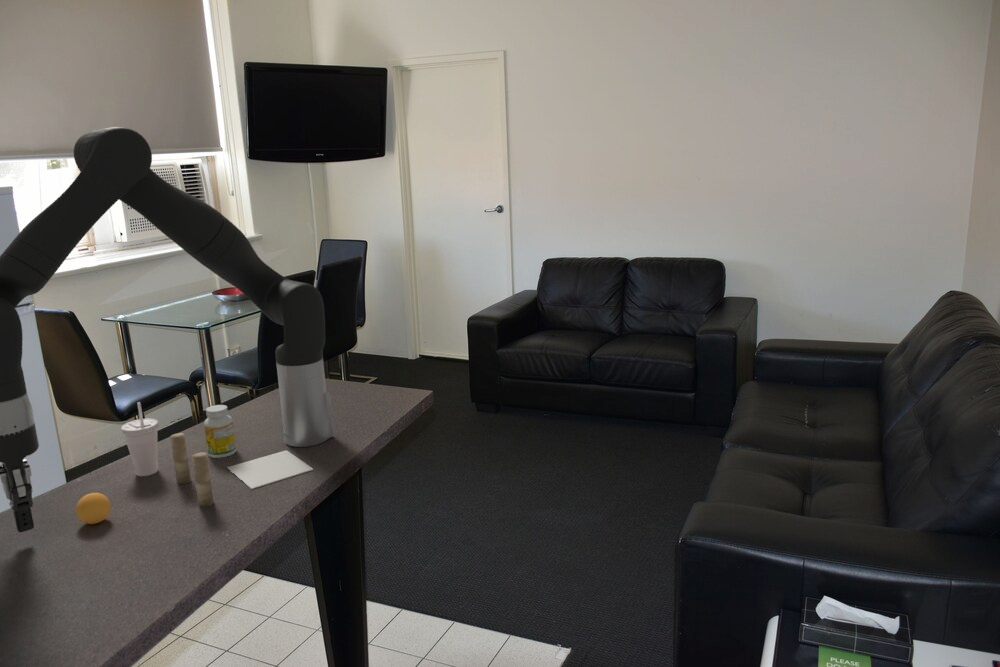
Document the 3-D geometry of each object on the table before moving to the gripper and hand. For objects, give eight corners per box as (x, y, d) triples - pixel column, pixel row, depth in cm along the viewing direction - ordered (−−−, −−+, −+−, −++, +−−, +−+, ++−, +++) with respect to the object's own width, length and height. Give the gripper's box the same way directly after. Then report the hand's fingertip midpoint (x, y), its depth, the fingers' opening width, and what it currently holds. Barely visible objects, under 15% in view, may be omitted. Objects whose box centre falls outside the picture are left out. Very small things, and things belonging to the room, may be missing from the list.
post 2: (210, 499, 131) (204, 451, 128) (215, 503, 129) (209, 455, 127) (196, 503, 129) (189, 455, 127) (201, 508, 127) (194, 459, 125)
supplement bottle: (237, 455, 149) (231, 410, 146) (208, 460, 147) (202, 414, 144) (235, 446, 153) (230, 401, 151) (207, 450, 152) (201, 406, 149)
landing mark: (286, 451, 150) (286, 450, 150) (313, 469, 141) (313, 468, 141) (227, 468, 143) (226, 467, 143) (251, 489, 134) (251, 488, 134)
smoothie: (151, 480, 139) (140, 409, 135) (120, 478, 140) (109, 407, 136) (172, 466, 145) (162, 397, 141) (143, 463, 146) (132, 395, 142)
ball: (108, 511, 127) (104, 484, 126) (116, 522, 123) (111, 494, 122) (75, 521, 124) (70, 493, 123) (82, 532, 120) (77, 504, 119)
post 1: (188, 477, 140) (182, 432, 137) (192, 481, 138) (186, 435, 136) (175, 480, 138) (168, 435, 136) (179, 485, 136) (172, 439, 134)
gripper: (41, 430, 110) (61, 537, 115) (26, 408, 120) (45, 506, 124) (-20, 444, 106) (3, 554, 110) (-30, 419, 116) (-9, 521, 120)
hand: (25, 528), depth 117 cm, fingers closed
